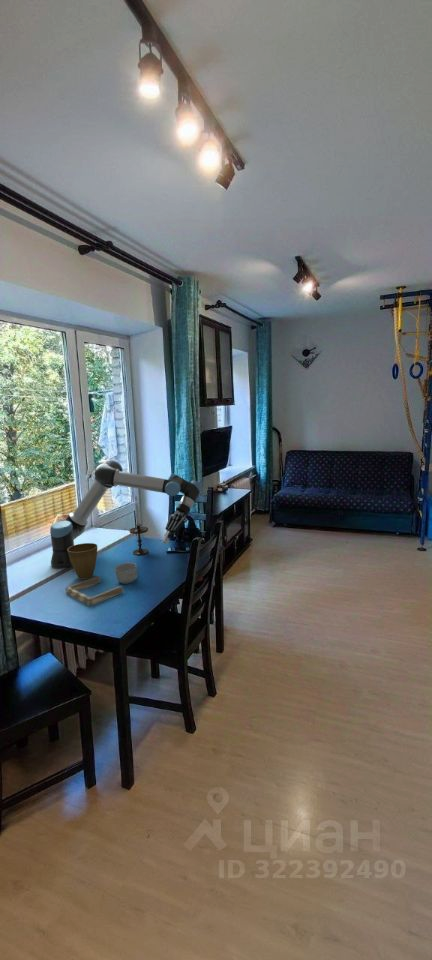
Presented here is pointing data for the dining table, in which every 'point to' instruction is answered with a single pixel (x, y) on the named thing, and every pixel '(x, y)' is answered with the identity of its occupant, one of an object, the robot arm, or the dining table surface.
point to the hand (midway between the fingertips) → (164, 542)
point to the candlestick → (138, 532)
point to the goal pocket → (95, 599)
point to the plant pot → (83, 559)
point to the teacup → (126, 572)
